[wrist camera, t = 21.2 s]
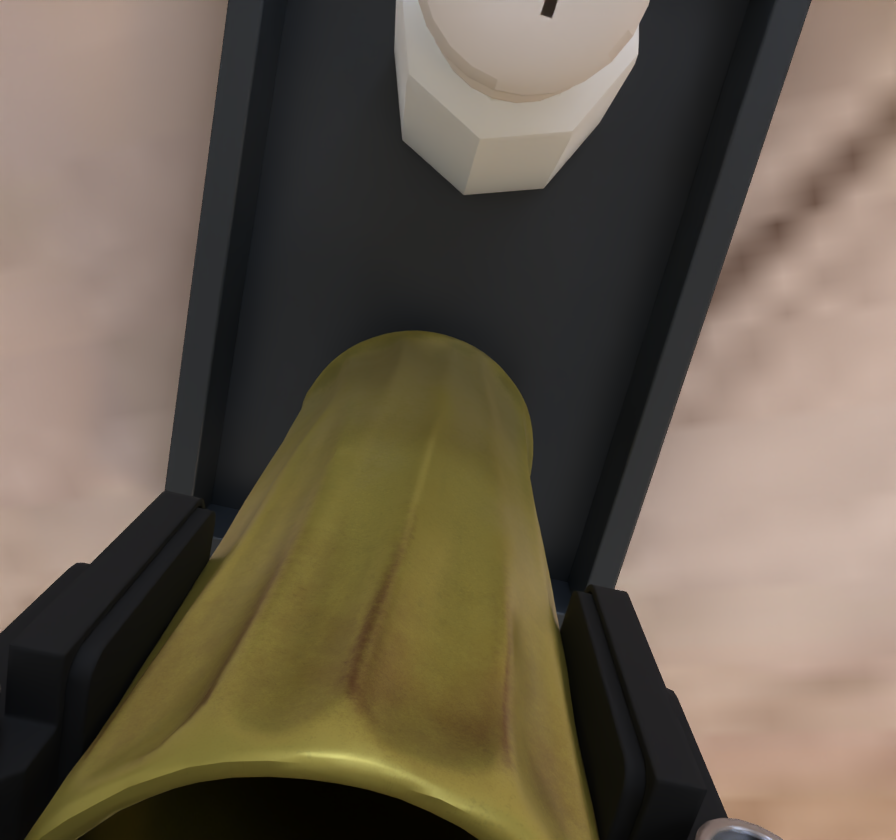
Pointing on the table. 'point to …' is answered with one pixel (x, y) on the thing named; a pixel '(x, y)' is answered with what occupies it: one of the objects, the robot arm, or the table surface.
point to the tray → (469, 252)
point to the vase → (359, 636)
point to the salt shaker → (508, 83)
